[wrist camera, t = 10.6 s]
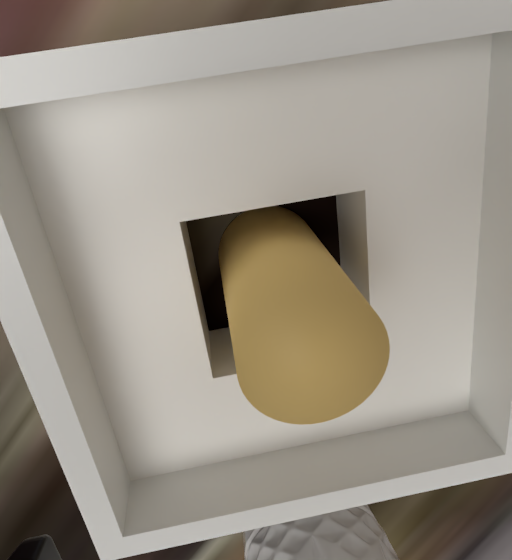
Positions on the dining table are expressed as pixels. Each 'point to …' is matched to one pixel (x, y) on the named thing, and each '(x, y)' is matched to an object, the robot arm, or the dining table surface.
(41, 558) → the robot arm
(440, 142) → the socket box
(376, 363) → the peg
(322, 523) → the white cup
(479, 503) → the dining table surface
